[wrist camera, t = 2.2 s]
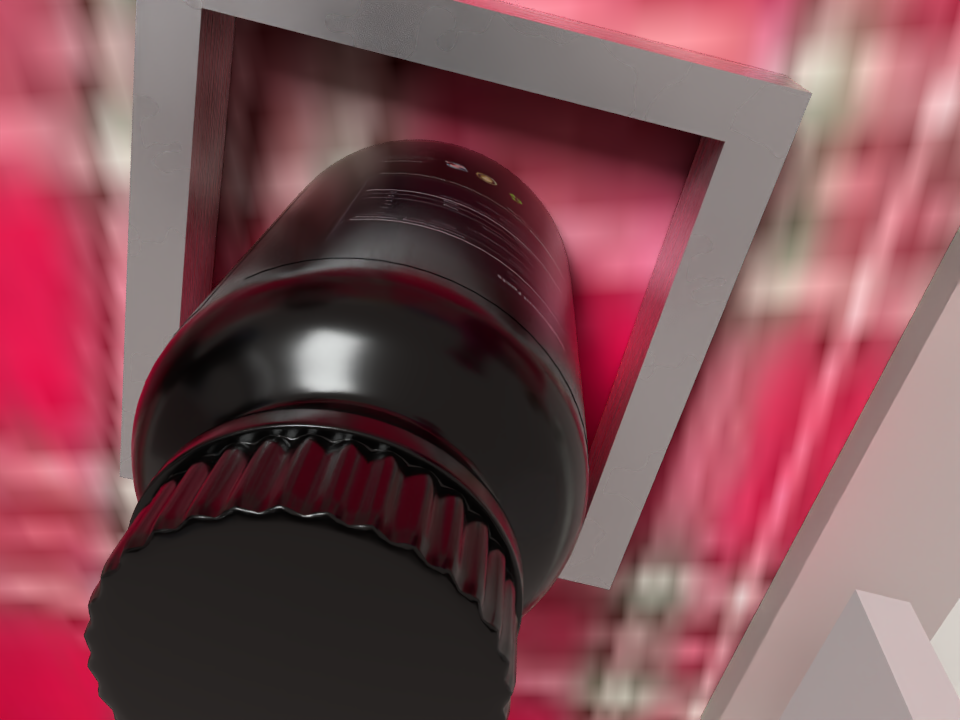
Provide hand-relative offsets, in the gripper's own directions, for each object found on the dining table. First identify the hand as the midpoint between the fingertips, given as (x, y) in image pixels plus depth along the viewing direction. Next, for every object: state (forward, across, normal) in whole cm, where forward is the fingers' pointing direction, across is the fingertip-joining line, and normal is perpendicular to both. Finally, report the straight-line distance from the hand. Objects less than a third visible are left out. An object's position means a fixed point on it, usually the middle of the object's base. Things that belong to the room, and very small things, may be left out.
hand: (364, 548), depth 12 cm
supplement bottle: (+10, 0, 0) cm, 10 cm away
